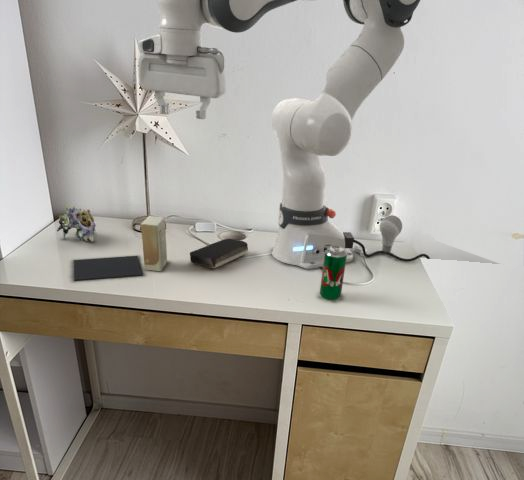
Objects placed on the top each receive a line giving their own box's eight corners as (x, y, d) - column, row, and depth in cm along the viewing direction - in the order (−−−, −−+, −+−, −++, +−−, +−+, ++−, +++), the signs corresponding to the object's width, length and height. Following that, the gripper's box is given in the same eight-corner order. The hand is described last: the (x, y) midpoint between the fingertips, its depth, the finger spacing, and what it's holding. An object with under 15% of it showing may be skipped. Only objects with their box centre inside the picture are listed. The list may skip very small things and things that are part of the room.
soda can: (338, 291, 126) (345, 245, 119) (342, 301, 122) (349, 253, 115) (318, 291, 126) (324, 244, 119) (320, 300, 121) (326, 252, 115)
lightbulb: (387, 259, 145) (395, 221, 139) (370, 252, 149) (377, 214, 143) (400, 254, 148) (408, 217, 142) (383, 247, 152) (390, 211, 146)
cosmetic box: (151, 260, 136) (148, 214, 129) (167, 262, 136) (165, 216, 129) (143, 270, 131) (139, 223, 124) (160, 272, 130) (157, 225, 124)
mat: (137, 256, 138) (137, 255, 137) (142, 275, 128) (142, 274, 128) (74, 261, 133) (73, 260, 133) (74, 280, 124) (74, 279, 123)
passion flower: (92, 259, 148) (88, 236, 137) (53, 251, 146) (46, 227, 135) (101, 227, 152) (98, 201, 141) (63, 218, 150) (57, 192, 139)
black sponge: (211, 273, 131) (211, 260, 129) (187, 264, 135) (186, 250, 133) (250, 255, 142) (251, 242, 140) (227, 247, 146) (227, 234, 144)
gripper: (231, 48, 108) (230, 119, 115) (149, 41, 114) (153, 109, 122) (216, 49, 103) (216, 123, 110) (131, 41, 109) (137, 112, 117)
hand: (182, 116), depth 116 cm, fingers open, 8 cm apart
